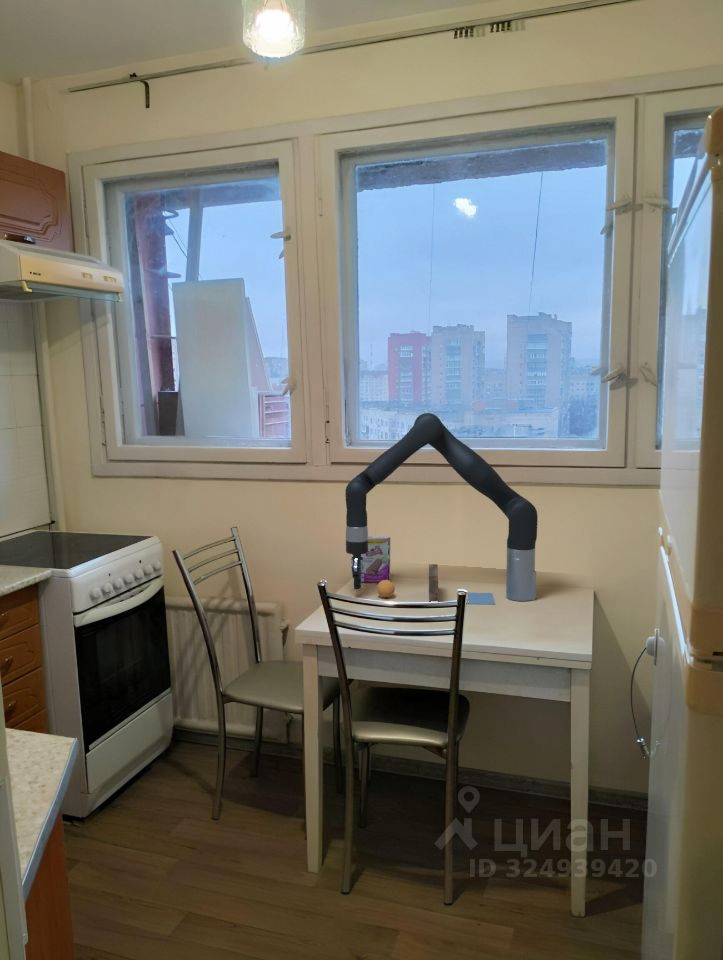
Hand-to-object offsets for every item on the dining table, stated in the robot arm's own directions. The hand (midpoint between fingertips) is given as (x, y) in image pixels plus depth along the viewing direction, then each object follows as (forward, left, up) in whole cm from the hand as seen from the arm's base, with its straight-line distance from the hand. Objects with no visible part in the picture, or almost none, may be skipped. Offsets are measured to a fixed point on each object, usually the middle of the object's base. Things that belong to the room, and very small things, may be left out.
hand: (357, 588), depth 239 cm
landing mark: (-40, 0, -3) cm, 40 cm away
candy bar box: (-5, -19, -3) cm, 20 cm away
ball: (-10, 0, 0) cm, 10 cm away
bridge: (-26, 0, -3) cm, 26 cm away
